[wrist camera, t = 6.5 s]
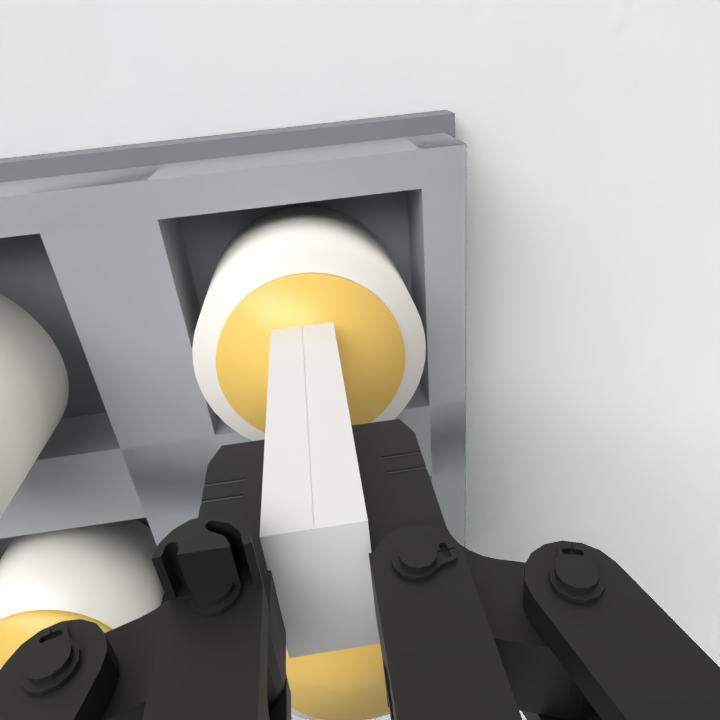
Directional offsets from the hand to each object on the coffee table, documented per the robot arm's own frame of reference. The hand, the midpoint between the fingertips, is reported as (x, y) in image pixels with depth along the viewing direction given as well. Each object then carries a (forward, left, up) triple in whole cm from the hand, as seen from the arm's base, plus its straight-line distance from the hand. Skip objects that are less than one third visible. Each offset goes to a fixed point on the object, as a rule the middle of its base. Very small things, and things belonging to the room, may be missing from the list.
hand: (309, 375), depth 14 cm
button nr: (-10, -10, -5) cm, 15 cm away
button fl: (0, 0, -5) cm, 5 cm away
